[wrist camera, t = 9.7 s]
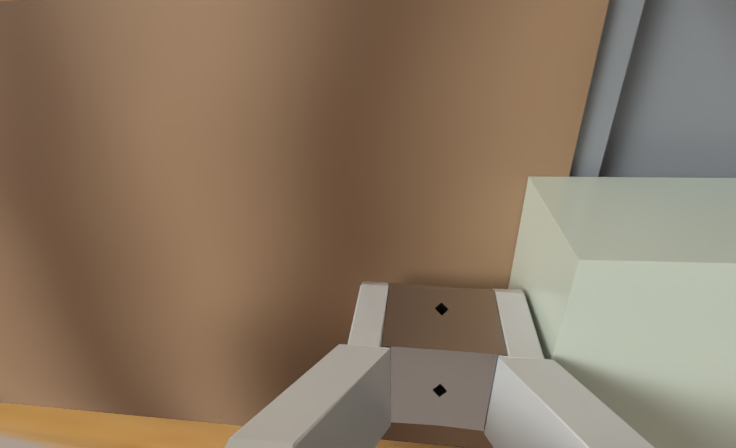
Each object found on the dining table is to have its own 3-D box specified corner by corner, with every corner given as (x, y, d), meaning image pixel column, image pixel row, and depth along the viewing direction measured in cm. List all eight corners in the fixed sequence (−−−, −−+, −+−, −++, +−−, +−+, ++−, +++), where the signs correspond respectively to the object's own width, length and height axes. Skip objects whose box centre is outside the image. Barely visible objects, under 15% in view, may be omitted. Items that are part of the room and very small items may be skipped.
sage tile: (842, 178, 7) (1039, 270, 5) (721, 383, 9) (813, 503, 7) (528, 176, 7) (579, 259, 5) (492, 372, 10) (516, 483, 8)
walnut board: (580, -21, 7) (613, -20, 6) (498, 402, 13) (506, 450, 11) (-353, 12, 9) (-476, 18, 8) (-76, 355, 15) (-123, 390, 14)
